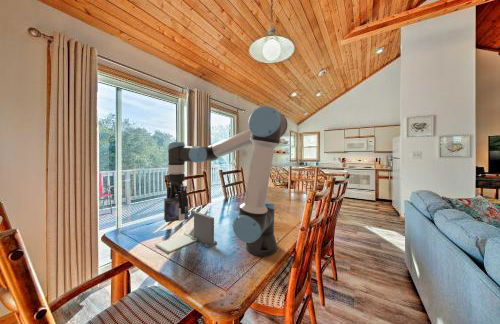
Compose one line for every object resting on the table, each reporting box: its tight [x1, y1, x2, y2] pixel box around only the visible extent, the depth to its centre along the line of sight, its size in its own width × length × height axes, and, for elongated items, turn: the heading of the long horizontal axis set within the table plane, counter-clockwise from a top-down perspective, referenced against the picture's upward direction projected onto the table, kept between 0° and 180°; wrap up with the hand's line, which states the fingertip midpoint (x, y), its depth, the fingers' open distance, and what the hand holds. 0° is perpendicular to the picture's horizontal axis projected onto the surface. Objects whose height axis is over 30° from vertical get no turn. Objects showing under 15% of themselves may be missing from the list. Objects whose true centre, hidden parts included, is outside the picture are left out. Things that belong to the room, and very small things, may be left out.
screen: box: [191, 211, 218, 249], centre depth 101 cm, size 14×6×14 cm, turn 52°
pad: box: [154, 232, 198, 254], centre depth 99 cm, size 11×17×1 cm, turn 142°
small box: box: [163, 196, 189, 223], centre depth 98 cm, size 11×6×10 cm, turn 122°
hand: (176, 218), depth 98 cm, fingers closed on small box, 8 cm apart
